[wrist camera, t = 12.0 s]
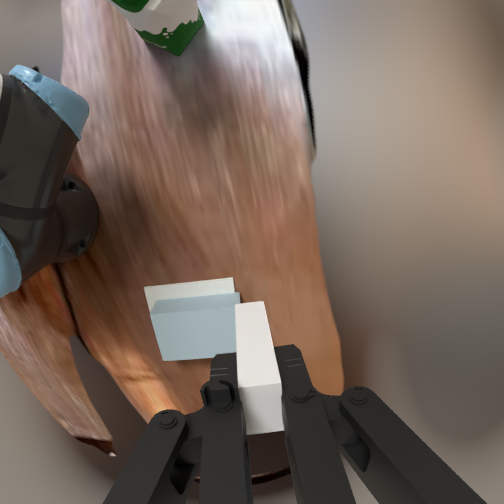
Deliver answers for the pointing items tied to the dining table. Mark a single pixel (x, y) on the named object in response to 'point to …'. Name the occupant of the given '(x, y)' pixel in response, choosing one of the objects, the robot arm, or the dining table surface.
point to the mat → (188, 290)
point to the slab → (195, 326)
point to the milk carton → (163, 21)
